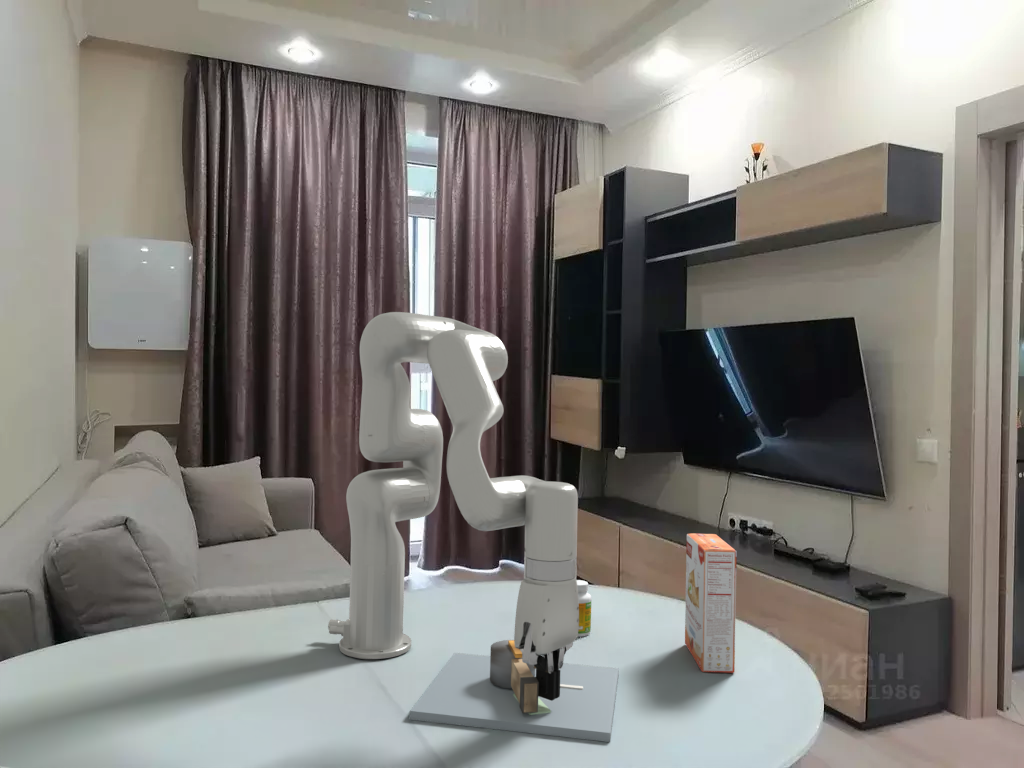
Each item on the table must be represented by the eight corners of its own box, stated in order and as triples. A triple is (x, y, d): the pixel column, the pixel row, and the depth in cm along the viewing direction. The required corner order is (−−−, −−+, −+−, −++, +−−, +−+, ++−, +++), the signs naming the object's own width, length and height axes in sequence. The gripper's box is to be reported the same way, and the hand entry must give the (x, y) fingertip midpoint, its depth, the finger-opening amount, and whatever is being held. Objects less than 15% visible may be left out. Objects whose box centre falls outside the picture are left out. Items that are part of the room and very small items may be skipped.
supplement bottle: (589, 638, 143) (590, 586, 143) (560, 635, 144) (562, 584, 144) (591, 629, 148) (593, 580, 148) (564, 627, 149) (565, 577, 149)
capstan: (486, 672, 121) (487, 637, 121) (529, 670, 122) (530, 635, 122) (505, 717, 104) (506, 676, 104) (554, 714, 106) (555, 674, 106)
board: (409, 719, 106) (409, 709, 106) (454, 659, 130) (454, 651, 130) (610, 742, 101) (610, 731, 101) (618, 675, 125) (618, 666, 125)
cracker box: (682, 644, 141) (685, 532, 141) (715, 645, 141) (717, 533, 141) (699, 673, 127) (702, 548, 127) (735, 674, 126) (738, 549, 127)
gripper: (559, 556, 117) (557, 675, 117) (496, 573, 105) (493, 705, 105) (600, 564, 112) (598, 688, 112) (539, 582, 101) (536, 721, 100)
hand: (547, 696), depth 109 cm, fingers closed
